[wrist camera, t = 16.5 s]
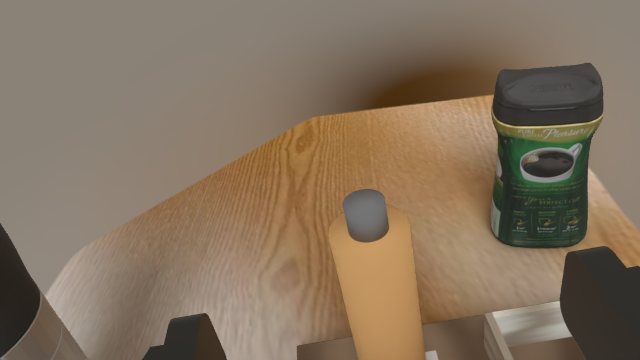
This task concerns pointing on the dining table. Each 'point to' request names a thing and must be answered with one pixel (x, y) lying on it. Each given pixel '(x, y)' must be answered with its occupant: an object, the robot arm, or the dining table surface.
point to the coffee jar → (544, 153)
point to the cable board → (479, 338)
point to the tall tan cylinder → (378, 278)
